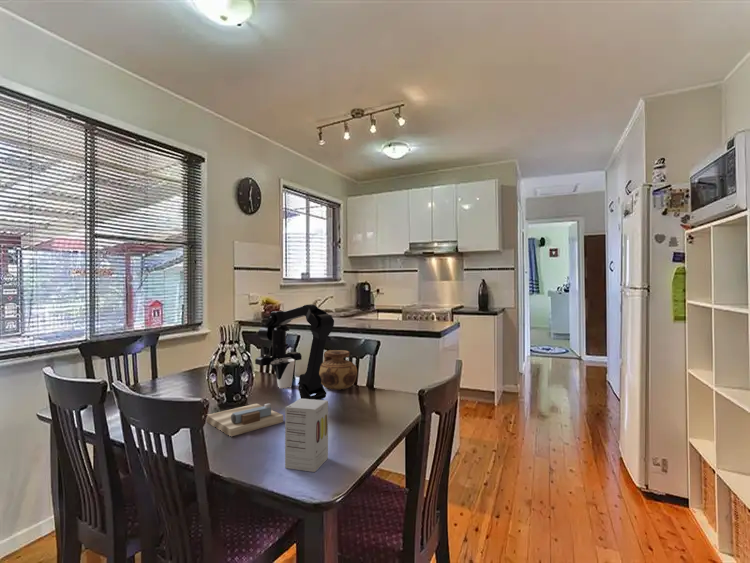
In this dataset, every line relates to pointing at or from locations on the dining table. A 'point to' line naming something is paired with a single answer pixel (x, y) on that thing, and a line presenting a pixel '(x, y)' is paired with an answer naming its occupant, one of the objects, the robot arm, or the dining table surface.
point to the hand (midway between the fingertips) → (279, 379)
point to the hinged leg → (263, 411)
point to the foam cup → (287, 375)
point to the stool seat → (225, 424)
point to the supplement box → (306, 434)
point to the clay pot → (337, 370)
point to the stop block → (250, 417)
